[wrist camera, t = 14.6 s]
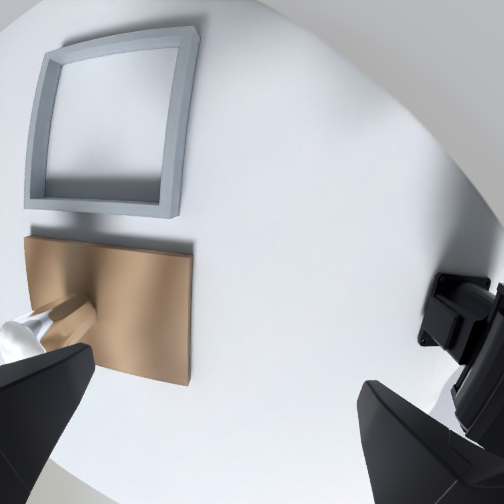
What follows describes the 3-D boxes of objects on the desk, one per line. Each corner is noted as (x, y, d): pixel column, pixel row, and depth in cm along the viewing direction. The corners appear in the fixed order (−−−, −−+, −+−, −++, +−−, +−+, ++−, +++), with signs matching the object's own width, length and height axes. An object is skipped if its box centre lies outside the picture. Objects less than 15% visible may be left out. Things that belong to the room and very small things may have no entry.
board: (193, 254, 21) (189, 258, 20) (190, 379, 24) (187, 386, 23) (30, 235, 22) (23, 237, 21) (44, 341, 24) (39, 345, 23)
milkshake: (63, 266, 21) (-24, 310, 11) (111, 306, 21) (35, 373, 12) (50, 305, 22) (-25, 356, 12) (93, 342, 22) (28, 411, 13)
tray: (200, 37, 18) (194, 25, 16) (178, 215, 21) (170, 218, 19) (57, 59, 18) (45, 52, 16) (38, 206, 21) (23, 208, 19)
